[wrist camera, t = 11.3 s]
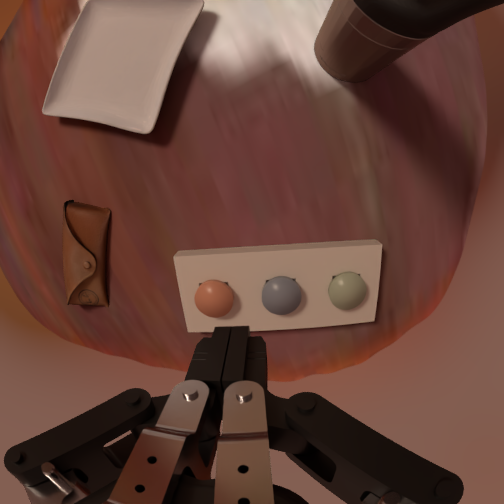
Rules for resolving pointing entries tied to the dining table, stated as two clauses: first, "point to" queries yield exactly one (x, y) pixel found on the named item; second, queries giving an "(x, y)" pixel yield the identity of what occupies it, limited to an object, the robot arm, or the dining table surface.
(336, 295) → the sage button
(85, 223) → the sunglasses case
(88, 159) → the dining table surface
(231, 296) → the terracotta button
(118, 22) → the salad plate
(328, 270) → the button panel
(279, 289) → the slate button
